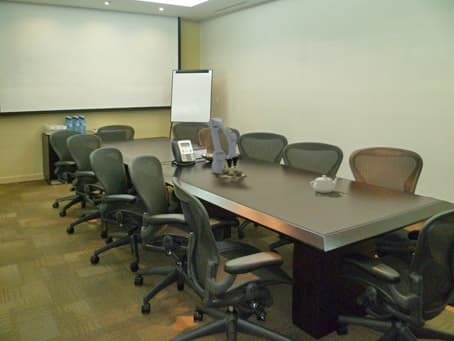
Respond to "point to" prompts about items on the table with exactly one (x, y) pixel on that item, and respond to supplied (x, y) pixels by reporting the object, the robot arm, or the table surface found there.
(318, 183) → the teapot
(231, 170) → the coupler
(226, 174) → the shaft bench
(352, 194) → the table surface
